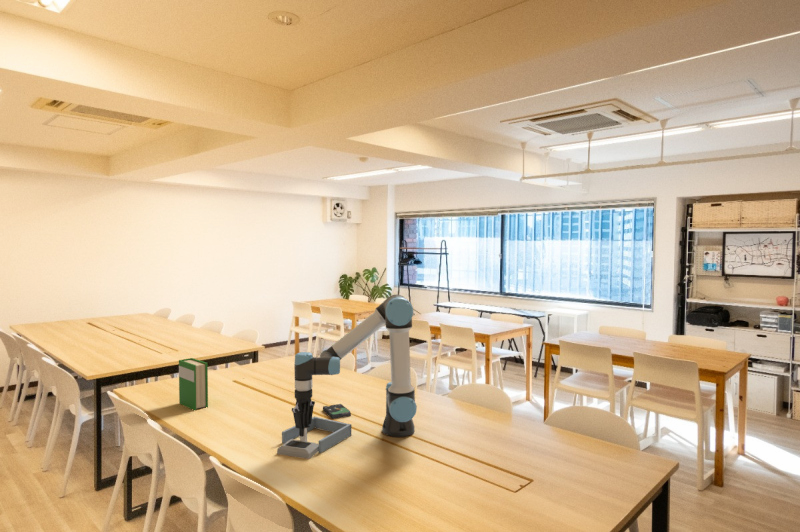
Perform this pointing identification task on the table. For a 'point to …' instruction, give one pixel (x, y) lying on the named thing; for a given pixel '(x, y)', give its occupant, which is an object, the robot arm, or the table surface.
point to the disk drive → (336, 411)
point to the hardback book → (193, 383)
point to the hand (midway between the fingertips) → (303, 442)
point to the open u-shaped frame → (338, 428)
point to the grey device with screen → (298, 449)
